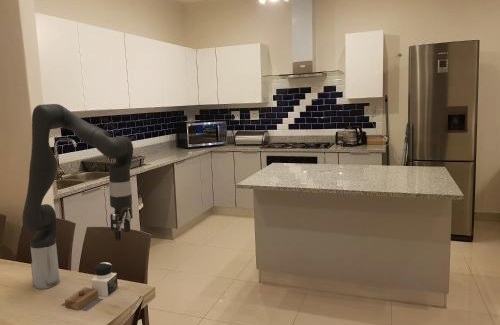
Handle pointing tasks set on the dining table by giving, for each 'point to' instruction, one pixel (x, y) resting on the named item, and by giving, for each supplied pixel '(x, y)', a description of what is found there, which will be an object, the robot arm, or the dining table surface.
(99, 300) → the mat
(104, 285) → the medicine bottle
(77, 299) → the lid
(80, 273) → the dining table surface
